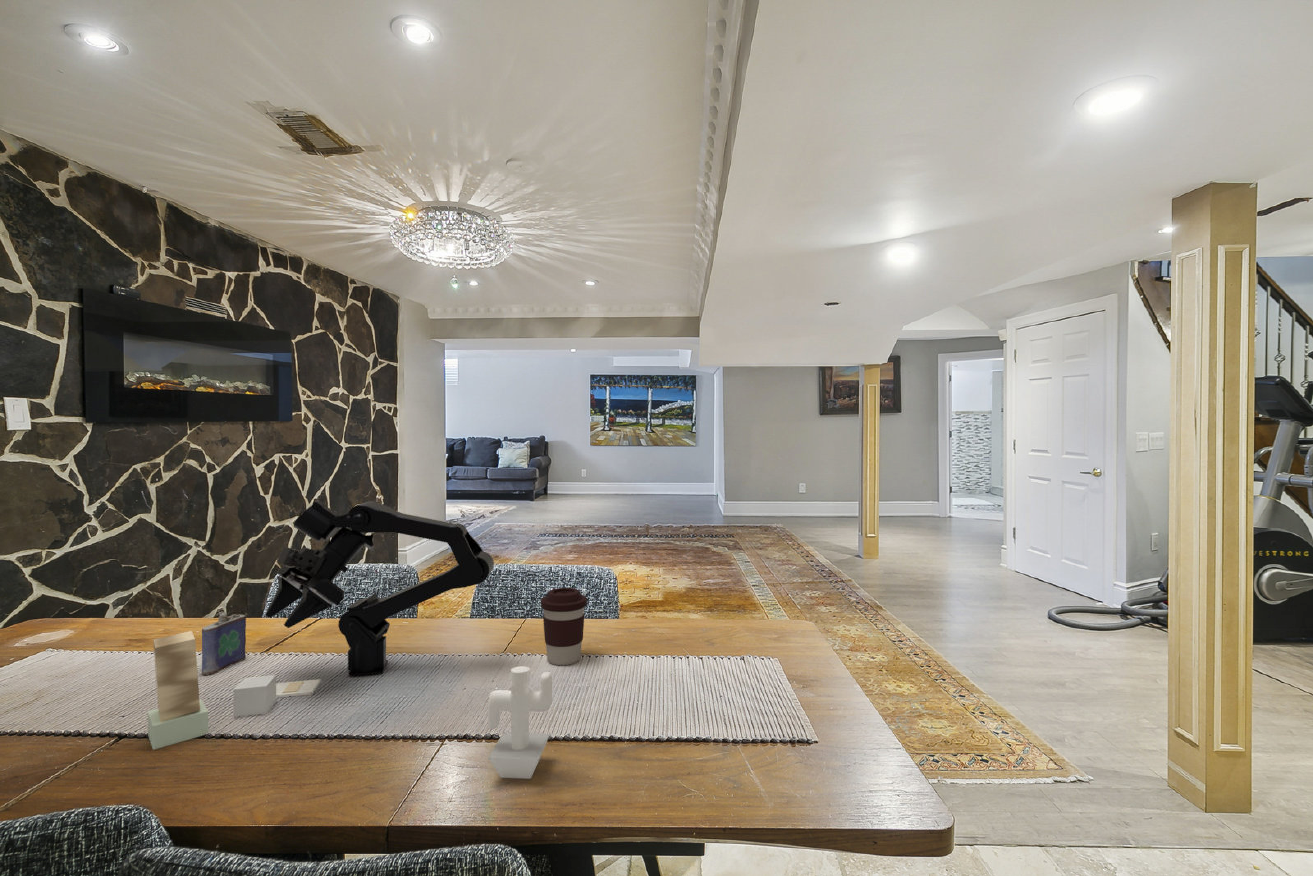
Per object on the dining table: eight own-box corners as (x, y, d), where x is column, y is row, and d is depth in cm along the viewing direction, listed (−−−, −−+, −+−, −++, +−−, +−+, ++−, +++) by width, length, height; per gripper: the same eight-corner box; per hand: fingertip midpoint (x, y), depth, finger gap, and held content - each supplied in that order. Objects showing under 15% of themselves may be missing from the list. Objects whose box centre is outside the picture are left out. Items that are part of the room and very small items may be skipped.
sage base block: (200, 721, 103) (200, 698, 103) (208, 735, 98) (208, 711, 98) (147, 735, 98) (147, 711, 98) (152, 751, 93) (152, 726, 93)
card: (320, 681, 119) (320, 678, 119) (312, 694, 113) (312, 690, 113) (275, 686, 117) (275, 682, 117) (264, 699, 111) (264, 695, 111)
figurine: (496, 755, 92) (496, 658, 92) (557, 757, 91) (557, 659, 91) (480, 783, 85) (479, 677, 84) (545, 785, 84) (545, 679, 84)
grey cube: (276, 701, 110) (276, 675, 110) (266, 714, 105) (266, 686, 105) (245, 705, 109) (245, 678, 109) (233, 718, 104) (233, 689, 104)
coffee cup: (565, 672, 124) (565, 600, 123) (531, 662, 129) (531, 592, 129) (596, 657, 132) (596, 589, 132) (562, 648, 137) (562, 583, 137)
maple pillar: (196, 699, 102) (191, 631, 101) (200, 710, 98) (195, 638, 98) (158, 710, 98) (153, 639, 98) (160, 722, 95) (155, 648, 94)
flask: (209, 676, 121) (209, 619, 121) (196, 675, 122) (195, 619, 122) (249, 658, 131) (249, 605, 131) (237, 657, 132) (236, 605, 132)
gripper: (287, 525, 124) (224, 589, 115) (327, 536, 112) (260, 608, 104) (327, 556, 130) (270, 619, 122) (369, 570, 118) (309, 641, 110)
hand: (276, 621), depth 114 cm, fingers open, 9 cm apart
